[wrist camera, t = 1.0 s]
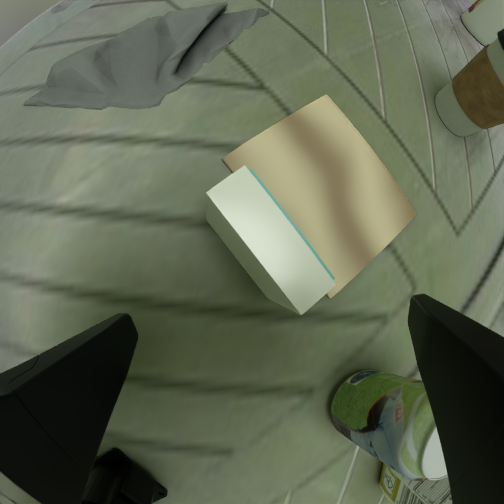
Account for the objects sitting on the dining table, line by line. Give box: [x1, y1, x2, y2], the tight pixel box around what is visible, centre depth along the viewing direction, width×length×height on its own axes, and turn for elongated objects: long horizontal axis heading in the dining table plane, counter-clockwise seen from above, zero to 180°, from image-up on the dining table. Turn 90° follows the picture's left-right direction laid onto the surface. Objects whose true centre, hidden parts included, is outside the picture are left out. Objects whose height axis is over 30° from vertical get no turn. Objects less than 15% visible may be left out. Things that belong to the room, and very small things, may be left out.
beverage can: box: [331, 370, 448, 481], centre depth 16 cm, size 6×7×12 cm
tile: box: [206, 165, 336, 315], centre depth 17 cm, size 2×7×8 cm, turn 39°
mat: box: [222, 95, 417, 299], centre depth 22 cm, size 11×13×1 cm
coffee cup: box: [435, 29, 504, 137], centre depth 18 cm, size 8×8×15 cm
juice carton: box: [380, 463, 452, 504], centre depth 13 cm, size 8×9×19 cm
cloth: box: [23, 2, 269, 110], centre depth 20 cm, size 26×14×2 cm, turn 103°
